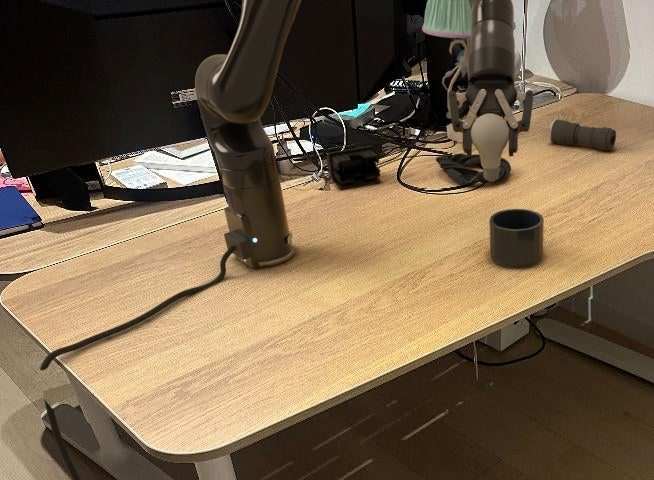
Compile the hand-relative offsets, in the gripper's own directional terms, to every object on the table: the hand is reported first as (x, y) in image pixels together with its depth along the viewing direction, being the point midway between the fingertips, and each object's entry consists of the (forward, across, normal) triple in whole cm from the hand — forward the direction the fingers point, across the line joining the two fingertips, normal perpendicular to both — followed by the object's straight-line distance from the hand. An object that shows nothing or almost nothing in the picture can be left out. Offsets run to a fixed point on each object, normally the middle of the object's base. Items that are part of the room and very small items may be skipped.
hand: (490, 154), depth 120 cm
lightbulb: (+3, 0, +5) cm, 6 cm away
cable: (-16, -6, +43) cm, 46 cm away
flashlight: (-29, +18, +56) cm, 66 cm away
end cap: (-13, -32, +40) cm, 53 cm away
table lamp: (-35, -8, +63) cm, 72 cm away
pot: (+12, +4, +14) cm, 19 cm away
